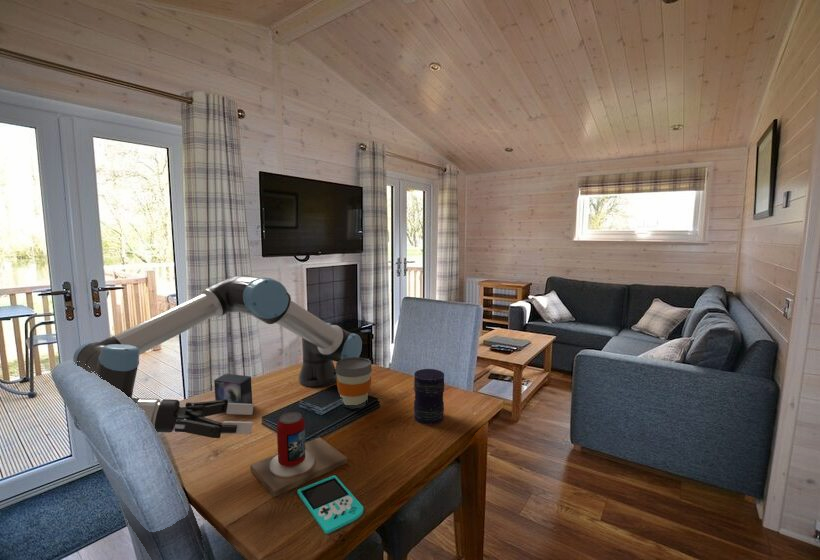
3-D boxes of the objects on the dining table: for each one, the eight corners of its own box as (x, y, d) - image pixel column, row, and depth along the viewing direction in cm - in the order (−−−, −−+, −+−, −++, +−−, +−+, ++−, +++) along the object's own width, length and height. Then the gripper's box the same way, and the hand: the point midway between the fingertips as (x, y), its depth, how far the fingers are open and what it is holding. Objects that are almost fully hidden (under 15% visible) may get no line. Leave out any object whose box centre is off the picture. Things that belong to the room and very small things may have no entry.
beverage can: (297, 470, 98) (296, 424, 96) (272, 467, 99) (271, 421, 97) (310, 455, 104) (309, 412, 103) (286, 452, 106) (285, 409, 104)
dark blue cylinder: (408, 414, 132) (408, 371, 130) (433, 408, 137) (434, 367, 135) (423, 427, 124) (423, 382, 122) (449, 421, 128) (450, 376, 126)
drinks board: (319, 441, 115) (319, 434, 115) (347, 462, 105) (347, 454, 105) (250, 470, 101) (250, 461, 101) (274, 497, 91) (274, 488, 91)
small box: (214, 409, 135) (212, 379, 134) (227, 401, 142) (225, 372, 140) (241, 412, 133) (239, 382, 131) (253, 404, 139) (252, 375, 138)
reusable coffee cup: (338, 396, 146) (338, 357, 144) (372, 396, 147) (372, 356, 145) (333, 412, 134) (332, 369, 132) (371, 411, 134) (370, 369, 132)
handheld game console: (325, 537, 80) (324, 531, 80) (295, 494, 93) (295, 489, 93) (367, 516, 86) (367, 510, 86) (334, 478, 99) (334, 473, 99)
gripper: (166, 413, 106) (251, 415, 114) (140, 454, 83) (248, 453, 90) (171, 385, 106) (255, 389, 114) (146, 418, 83) (253, 420, 91)
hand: (252, 418), depth 102 cm, fingers open, 13 cm apart
